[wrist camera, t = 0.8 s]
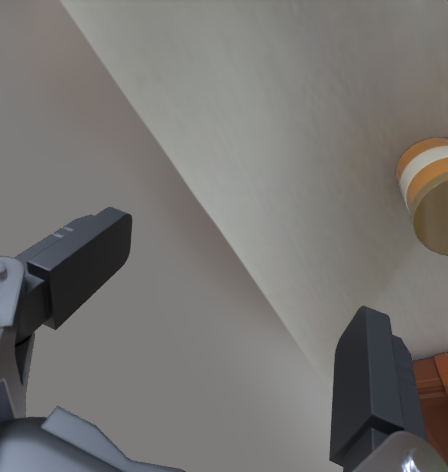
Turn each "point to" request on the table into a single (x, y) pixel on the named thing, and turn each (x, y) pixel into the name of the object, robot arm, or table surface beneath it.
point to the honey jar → (426, 191)
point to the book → (434, 400)
